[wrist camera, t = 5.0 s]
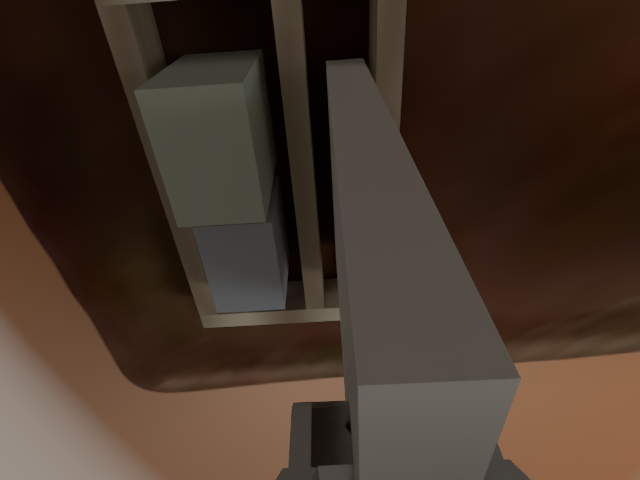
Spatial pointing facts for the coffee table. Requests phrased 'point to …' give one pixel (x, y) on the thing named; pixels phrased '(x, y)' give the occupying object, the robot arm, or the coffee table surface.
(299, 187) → the birch rack
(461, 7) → the coffee table surface
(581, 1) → the coffee table surface
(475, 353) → the tall board
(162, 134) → the sage offcut
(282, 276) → the slate offcut
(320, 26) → the coffee table surface
